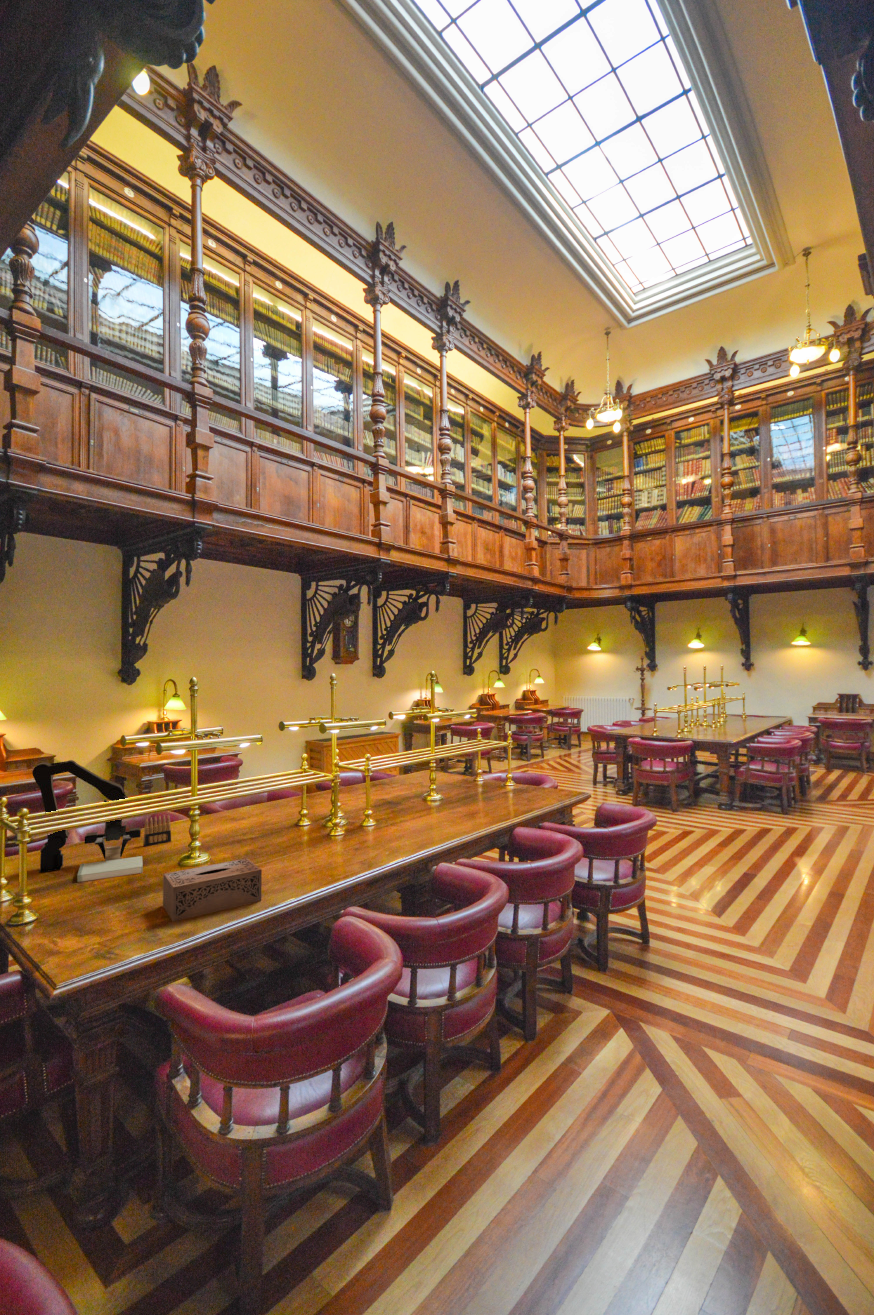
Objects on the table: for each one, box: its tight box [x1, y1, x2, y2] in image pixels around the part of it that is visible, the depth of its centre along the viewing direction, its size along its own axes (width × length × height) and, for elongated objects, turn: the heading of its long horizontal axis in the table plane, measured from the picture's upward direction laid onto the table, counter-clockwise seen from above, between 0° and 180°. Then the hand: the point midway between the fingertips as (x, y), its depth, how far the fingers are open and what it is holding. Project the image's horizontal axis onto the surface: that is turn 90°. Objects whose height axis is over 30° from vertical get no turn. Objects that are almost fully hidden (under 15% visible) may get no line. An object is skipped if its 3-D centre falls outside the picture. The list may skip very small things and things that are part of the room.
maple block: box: [104, 844, 122, 861], centre depth 219 cm, size 5×5×5 cm
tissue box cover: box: [162, 857, 263, 922], centre depth 177 cm, size 26×14×10 cm, turn 126°
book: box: [76, 855, 144, 883], centre depth 207 cm, size 20×14×3 cm
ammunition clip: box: [142, 813, 172, 847], centre depth 243 cm, size 11×2×12 cm, turn 133°
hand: (112, 857), depth 219 cm, fingers closed on maple block, 5 cm apart
